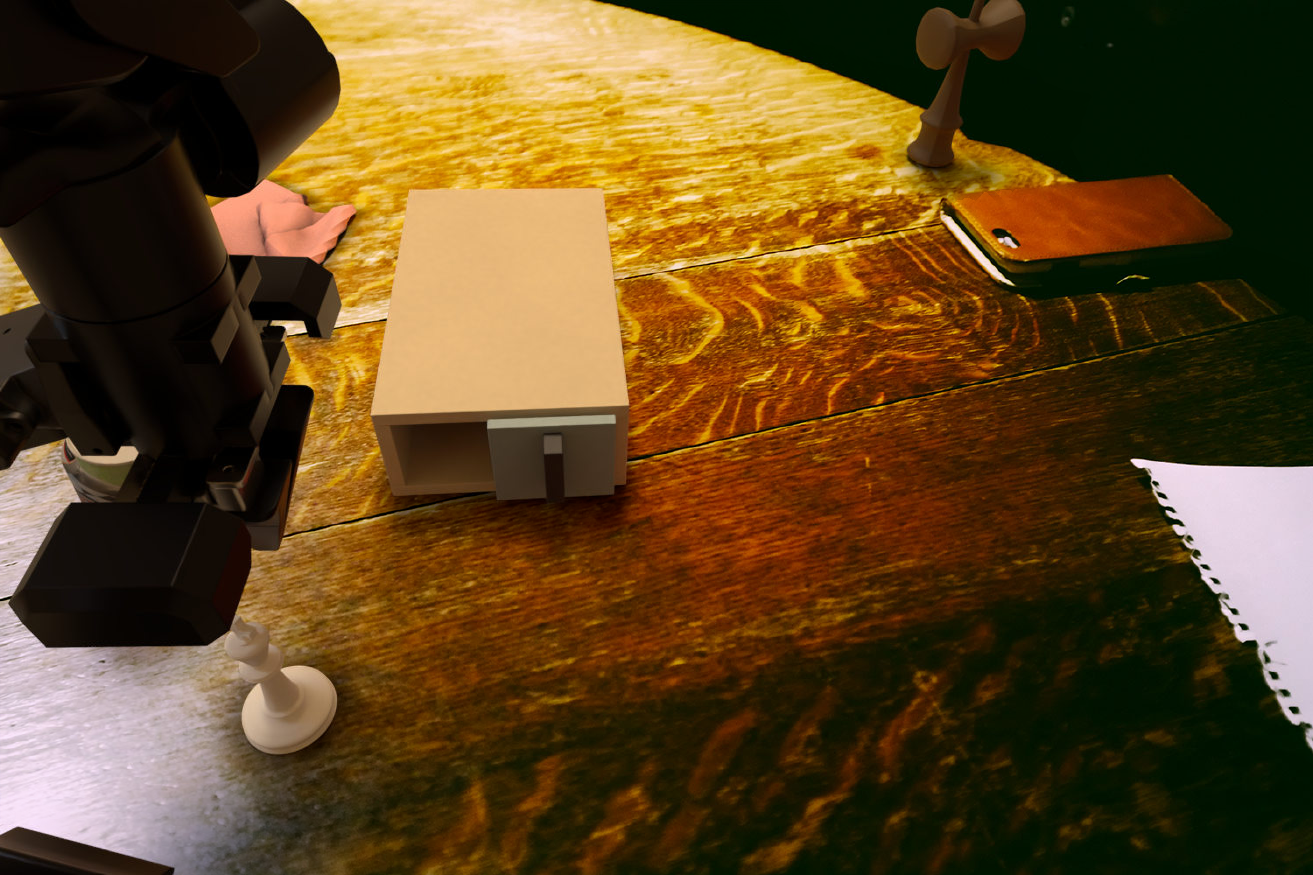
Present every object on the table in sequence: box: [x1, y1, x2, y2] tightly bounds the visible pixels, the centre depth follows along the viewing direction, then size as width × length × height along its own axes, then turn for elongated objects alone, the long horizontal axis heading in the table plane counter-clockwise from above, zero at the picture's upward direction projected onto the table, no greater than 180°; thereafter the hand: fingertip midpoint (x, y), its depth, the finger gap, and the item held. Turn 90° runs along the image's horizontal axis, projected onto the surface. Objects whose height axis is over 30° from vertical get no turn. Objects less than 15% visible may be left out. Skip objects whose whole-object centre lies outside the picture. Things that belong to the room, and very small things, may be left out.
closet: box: [370, 187, 630, 497], centre depth 63 cm, size 26×16×8 cm, turn 6°
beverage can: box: [60, 437, 138, 502], centre depth 48 cm, size 6×7×12 cm
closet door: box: [487, 415, 616, 505], centre depth 54 cm, size 3×8×7 cm, turn 96°
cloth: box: [210, 178, 358, 265], centre depth 74 cm, size 20×22×2 cm
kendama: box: [906, 0, 1026, 168], centre depth 85 cm, size 6×10×20 cm, turn 117°
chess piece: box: [224, 613, 338, 755], centre depth 42 cm, size 5×5×10 cm
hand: (269, 544), depth 39 cm, fingers closed
